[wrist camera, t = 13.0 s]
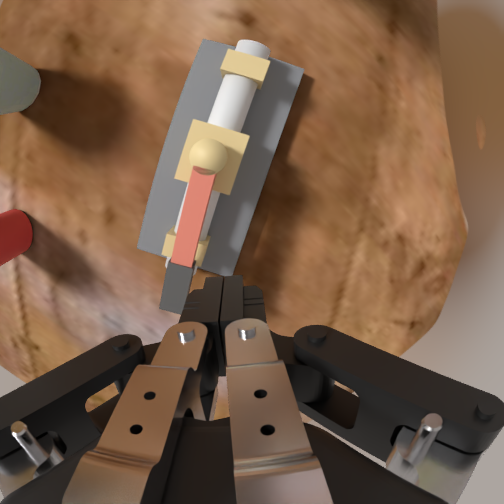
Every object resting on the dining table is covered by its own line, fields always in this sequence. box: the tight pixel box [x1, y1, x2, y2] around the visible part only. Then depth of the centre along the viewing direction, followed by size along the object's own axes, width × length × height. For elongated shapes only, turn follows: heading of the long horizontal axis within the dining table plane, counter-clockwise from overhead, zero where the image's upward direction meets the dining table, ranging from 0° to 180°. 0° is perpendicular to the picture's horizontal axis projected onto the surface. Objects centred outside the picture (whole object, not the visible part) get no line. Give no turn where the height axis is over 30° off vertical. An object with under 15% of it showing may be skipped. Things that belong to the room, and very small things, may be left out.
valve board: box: [137, 39, 304, 276], centre depth 31 cm, size 26×12×7 cm, turn 161°
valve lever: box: [159, 138, 228, 315], centre depth 28 cm, size 17×3×2 cm, turn 164°
